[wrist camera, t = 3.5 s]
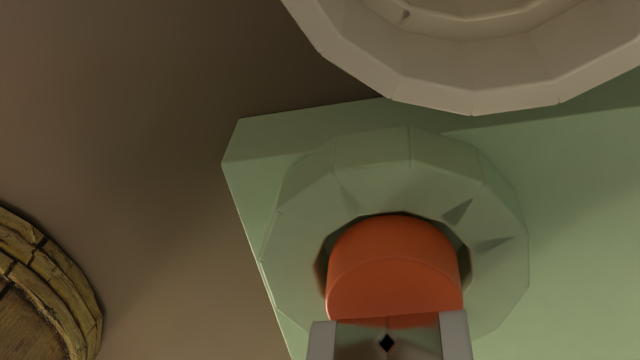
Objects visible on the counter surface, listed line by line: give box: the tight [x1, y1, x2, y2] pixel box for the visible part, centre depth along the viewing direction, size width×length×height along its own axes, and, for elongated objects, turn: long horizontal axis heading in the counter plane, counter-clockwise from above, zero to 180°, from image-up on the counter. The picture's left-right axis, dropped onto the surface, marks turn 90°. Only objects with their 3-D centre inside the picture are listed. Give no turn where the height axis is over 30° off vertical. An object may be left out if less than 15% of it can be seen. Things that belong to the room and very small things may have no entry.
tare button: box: [325, 215, 464, 320], centre depth 13 cm, size 3×3×1 cm
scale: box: [221, 65, 640, 360], centre depth 17 cm, size 16×14×4 cm
